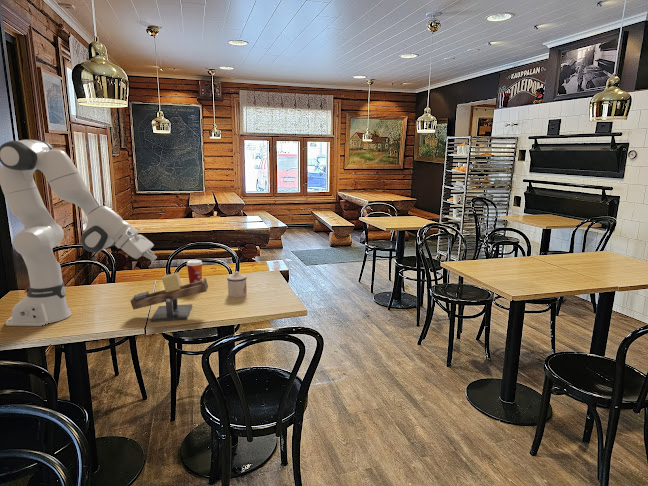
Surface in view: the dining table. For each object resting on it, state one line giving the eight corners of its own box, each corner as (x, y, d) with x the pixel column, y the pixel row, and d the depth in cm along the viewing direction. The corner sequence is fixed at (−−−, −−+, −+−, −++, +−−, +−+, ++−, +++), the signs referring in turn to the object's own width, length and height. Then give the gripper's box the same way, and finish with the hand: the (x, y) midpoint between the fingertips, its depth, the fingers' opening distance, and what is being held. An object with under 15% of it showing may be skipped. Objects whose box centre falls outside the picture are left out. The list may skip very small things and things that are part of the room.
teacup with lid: (248, 297, 199) (247, 273, 196) (228, 299, 196) (227, 275, 194) (245, 289, 210) (244, 267, 208) (226, 291, 207) (225, 268, 205)
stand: (151, 321, 169) (149, 300, 168) (159, 308, 184) (157, 289, 182) (187, 319, 172) (185, 298, 170) (192, 306, 186) (191, 287, 184)
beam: (134, 311, 172) (130, 300, 170) (138, 306, 178) (135, 295, 177) (207, 293, 175) (203, 282, 174) (208, 288, 182) (205, 277, 180)
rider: (167, 296, 174) (161, 278, 172) (169, 293, 178) (163, 275, 176) (181, 292, 174) (176, 275, 172) (183, 289, 179) (178, 272, 177)
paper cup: (199, 290, 208) (197, 263, 205) (185, 289, 209) (183, 262, 206) (206, 286, 215) (205, 259, 212) (193, 285, 217) (191, 259, 214)
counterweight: (136, 304, 172) (134, 297, 172) (139, 300, 177) (137, 293, 176) (147, 301, 173) (145, 294, 172) (150, 297, 177) (148, 291, 176)
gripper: (130, 238, 179) (156, 260, 182) (113, 246, 159) (143, 270, 162) (140, 227, 178) (165, 249, 181) (124, 234, 158) (154, 258, 161)
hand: (155, 259), depth 171 cm, fingers closed
